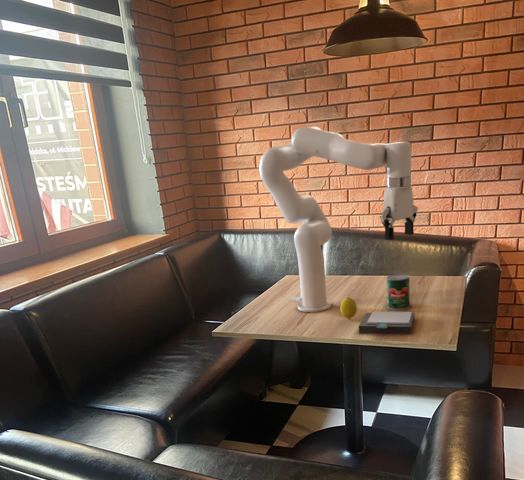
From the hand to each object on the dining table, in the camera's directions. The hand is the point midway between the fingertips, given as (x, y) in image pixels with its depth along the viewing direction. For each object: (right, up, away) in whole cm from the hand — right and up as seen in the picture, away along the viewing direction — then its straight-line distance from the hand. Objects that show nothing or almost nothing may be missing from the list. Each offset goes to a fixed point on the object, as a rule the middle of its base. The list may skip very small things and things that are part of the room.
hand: (399, 236), depth 177 cm
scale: (-5, -30, -4) cm, 31 cm away
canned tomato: (+4, -22, +16) cm, 27 cm away
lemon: (-15, -27, +8) cm, 32 cm away
